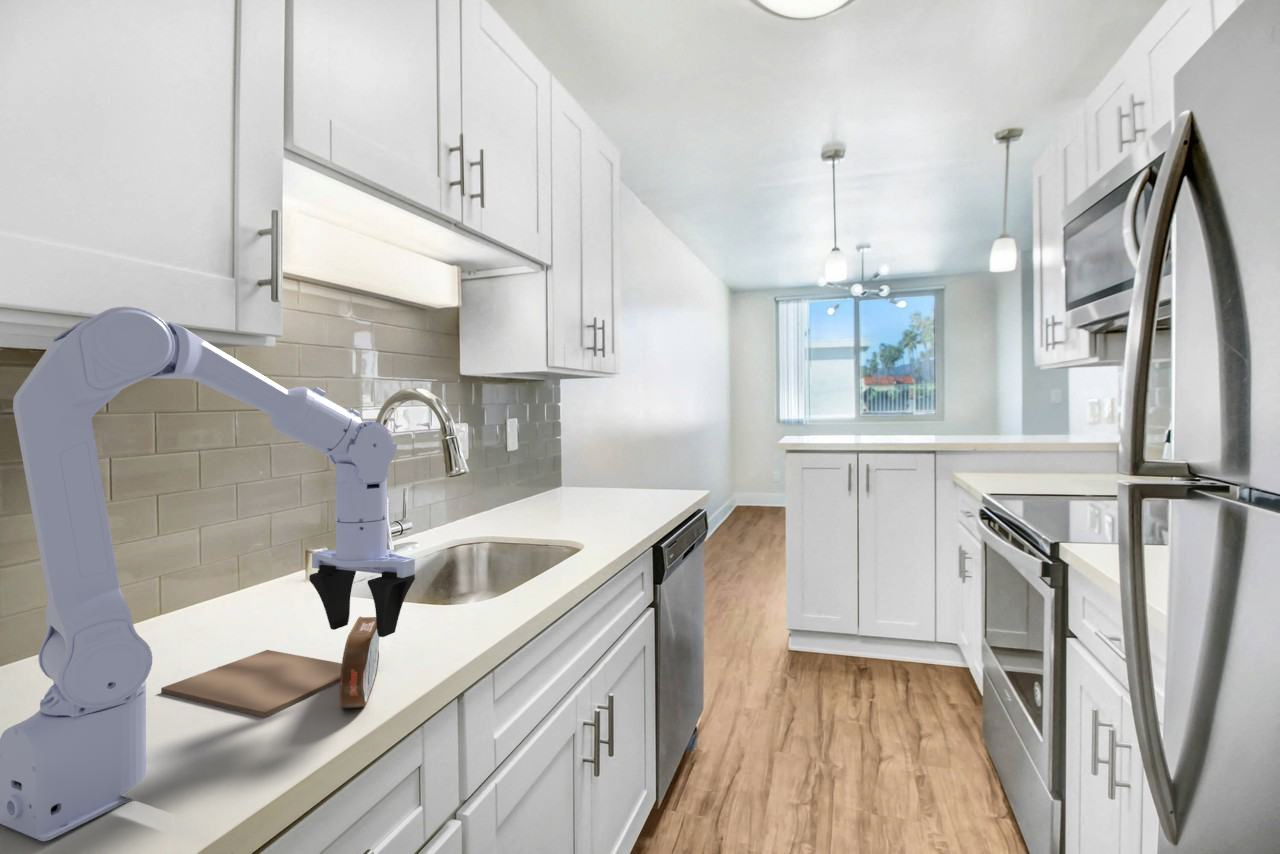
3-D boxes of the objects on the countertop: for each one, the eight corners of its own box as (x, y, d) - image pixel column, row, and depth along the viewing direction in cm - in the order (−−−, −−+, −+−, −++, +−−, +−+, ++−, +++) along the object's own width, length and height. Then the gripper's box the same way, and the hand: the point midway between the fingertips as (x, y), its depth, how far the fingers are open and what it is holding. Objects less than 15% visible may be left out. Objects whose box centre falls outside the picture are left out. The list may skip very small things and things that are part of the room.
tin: (358, 671, 83) (358, 608, 83) (383, 669, 84) (383, 606, 84) (336, 723, 68) (336, 646, 68) (367, 719, 69) (367, 643, 69)
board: (265, 717, 70) (265, 712, 70) (161, 692, 76) (161, 687, 76) (363, 671, 83) (363, 667, 83) (267, 653, 89) (267, 649, 89)
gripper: (432, 517, 77) (432, 627, 77) (343, 512, 83) (344, 614, 83) (389, 526, 71) (390, 646, 71) (296, 520, 76) (297, 631, 76)
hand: (362, 630), depth 76 cm, fingers open, 7 cm apart
